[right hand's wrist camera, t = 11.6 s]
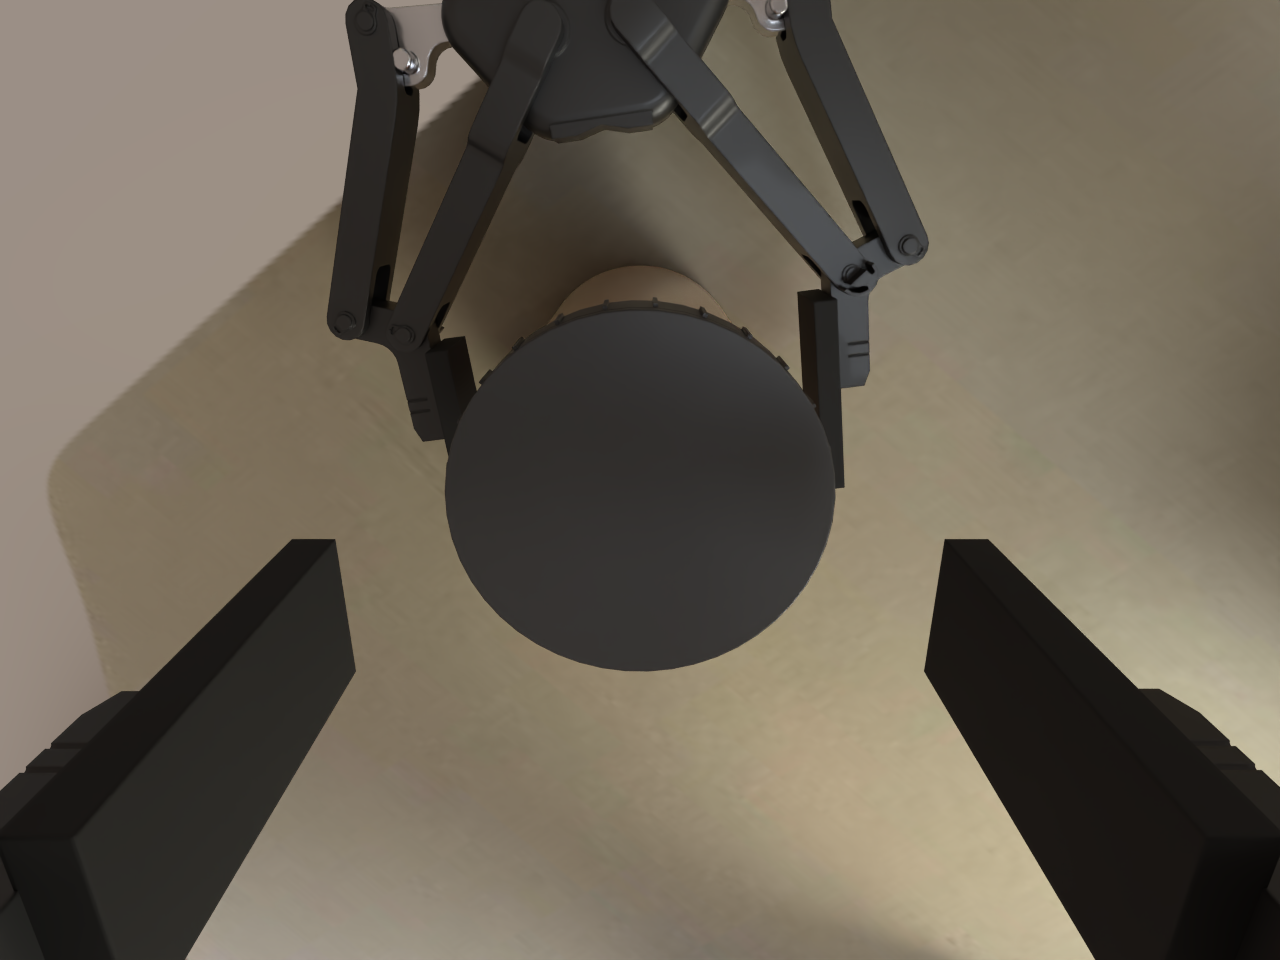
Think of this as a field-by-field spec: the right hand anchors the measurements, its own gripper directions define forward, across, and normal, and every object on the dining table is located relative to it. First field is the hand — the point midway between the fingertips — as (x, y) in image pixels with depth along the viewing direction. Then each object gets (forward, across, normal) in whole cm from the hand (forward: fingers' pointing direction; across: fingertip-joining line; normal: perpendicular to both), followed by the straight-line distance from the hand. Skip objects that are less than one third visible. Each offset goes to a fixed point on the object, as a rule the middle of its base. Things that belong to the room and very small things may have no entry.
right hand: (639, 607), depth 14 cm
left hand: (+14, 0, -4) cm, 15 cm away
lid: (+5, 0, 0) cm, 5 cm away
